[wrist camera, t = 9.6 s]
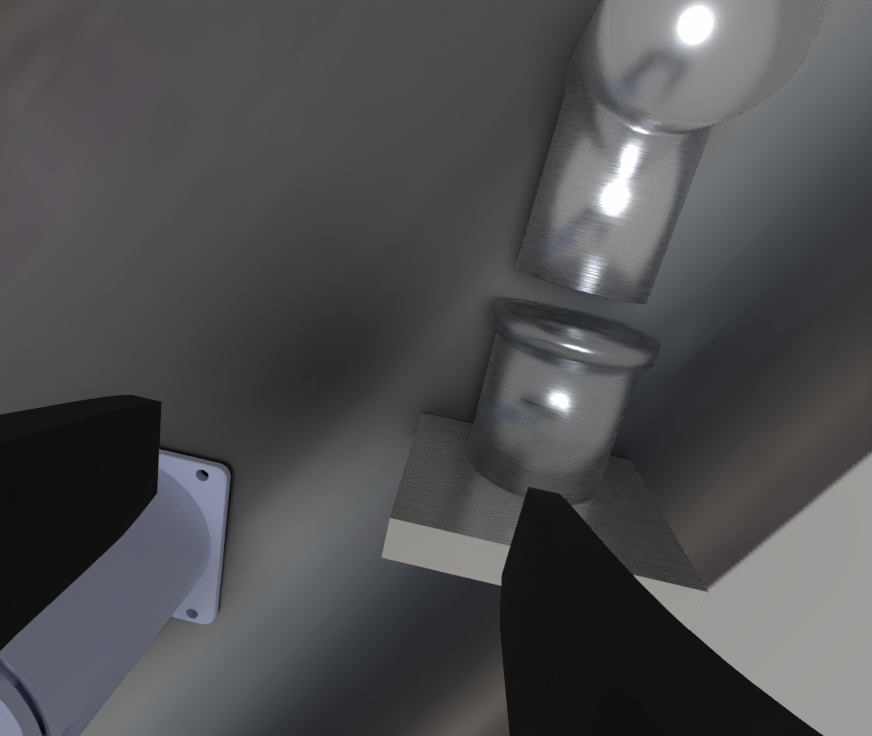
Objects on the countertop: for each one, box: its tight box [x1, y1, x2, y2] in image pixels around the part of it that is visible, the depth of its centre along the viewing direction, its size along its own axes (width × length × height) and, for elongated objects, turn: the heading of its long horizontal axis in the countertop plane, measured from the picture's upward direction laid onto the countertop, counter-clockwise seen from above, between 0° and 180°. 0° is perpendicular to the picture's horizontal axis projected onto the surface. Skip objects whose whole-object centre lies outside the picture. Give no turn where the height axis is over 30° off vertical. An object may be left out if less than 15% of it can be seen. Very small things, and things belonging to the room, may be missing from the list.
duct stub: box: [382, 299, 708, 630], centre depth 15 cm, size 6×8×7 cm
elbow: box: [516, 0, 826, 304], centre depth 13 cm, size 8×4×6 cm, turn 167°
